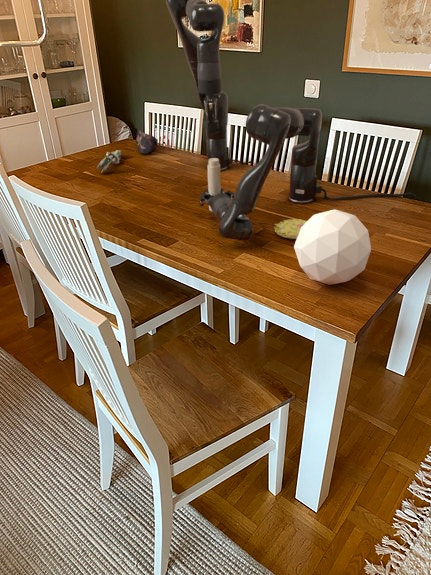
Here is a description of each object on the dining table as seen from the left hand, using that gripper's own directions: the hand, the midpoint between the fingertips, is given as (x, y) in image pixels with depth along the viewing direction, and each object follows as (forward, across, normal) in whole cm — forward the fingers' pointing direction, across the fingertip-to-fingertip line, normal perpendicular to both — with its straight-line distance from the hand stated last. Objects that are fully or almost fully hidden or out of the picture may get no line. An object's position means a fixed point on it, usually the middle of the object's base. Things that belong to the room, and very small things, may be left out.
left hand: (211, 130), depth 153 cm
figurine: (+28, -56, -48) cm, 79 cm away
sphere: (+27, +56, +29) cm, 69 cm away
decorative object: (+28, +27, +28) cm, 47 cm away
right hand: (+22, +1, 0) cm, 22 cm away
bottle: (+28, +4, 0) cm, 28 cm away
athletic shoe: (+29, -81, -32) cm, 92 cm away
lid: (-3, 0, 0) cm, 3 cm away
